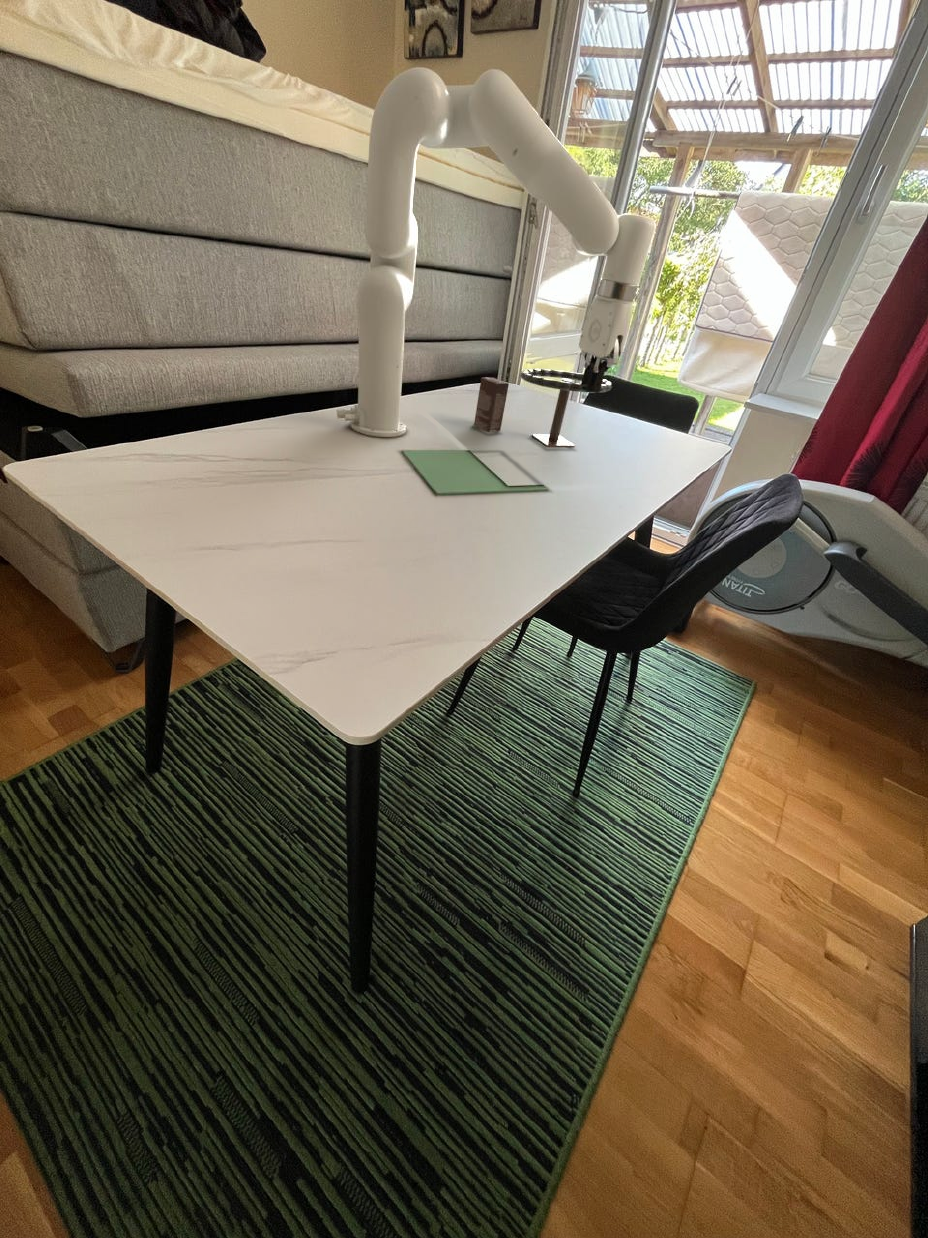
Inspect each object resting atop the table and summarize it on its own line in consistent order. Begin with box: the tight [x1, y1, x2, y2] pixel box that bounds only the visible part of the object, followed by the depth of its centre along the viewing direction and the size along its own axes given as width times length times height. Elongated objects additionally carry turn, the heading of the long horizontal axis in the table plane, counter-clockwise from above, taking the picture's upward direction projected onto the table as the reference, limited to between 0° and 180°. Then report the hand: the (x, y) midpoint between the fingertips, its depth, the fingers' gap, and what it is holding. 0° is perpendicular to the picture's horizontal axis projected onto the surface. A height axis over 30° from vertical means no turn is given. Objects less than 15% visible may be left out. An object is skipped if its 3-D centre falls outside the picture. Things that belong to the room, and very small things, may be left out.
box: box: [473, 377, 510, 433], centre depth 128 cm, size 6×4×12 cm
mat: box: [401, 449, 549, 496], centre depth 107 cm, size 24×22×1 cm
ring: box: [520, 368, 613, 394], centre depth 121 cm, size 21×21×2 cm
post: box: [531, 378, 576, 448], centre depth 125 cm, size 8×8×15 cm
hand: (589, 389), depth 114 cm, fingers closed on ring, 1 cm apart
